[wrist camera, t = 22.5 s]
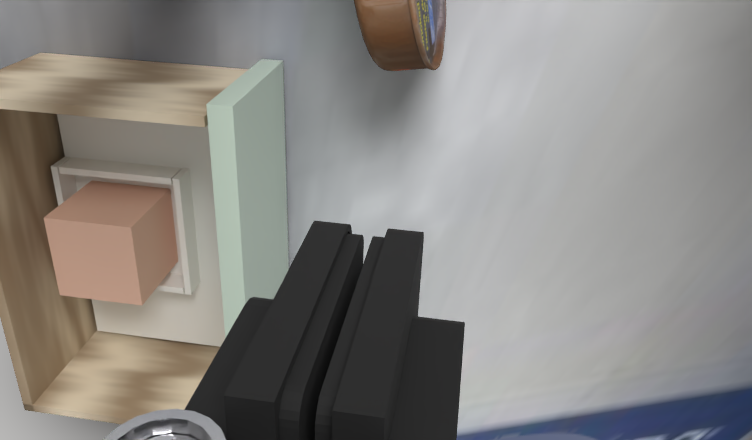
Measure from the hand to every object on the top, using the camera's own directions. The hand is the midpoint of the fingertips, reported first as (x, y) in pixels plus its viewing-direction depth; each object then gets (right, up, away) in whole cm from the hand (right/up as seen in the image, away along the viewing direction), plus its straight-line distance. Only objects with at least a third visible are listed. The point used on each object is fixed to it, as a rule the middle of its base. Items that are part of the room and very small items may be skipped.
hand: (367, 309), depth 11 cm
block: (-15, +1, +32) cm, 35 cm away
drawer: (-12, +1, +32) cm, 34 cm away
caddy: (-13, +2, +32) cm, 35 cm away
